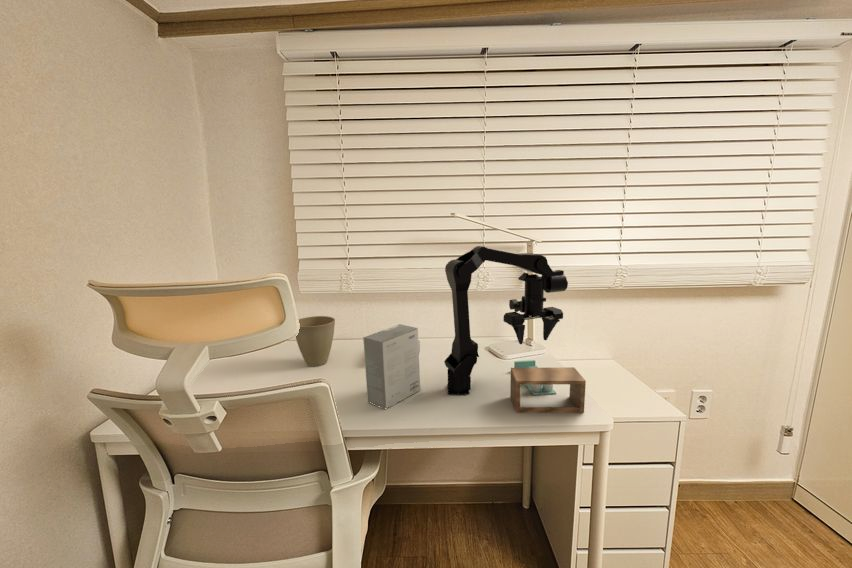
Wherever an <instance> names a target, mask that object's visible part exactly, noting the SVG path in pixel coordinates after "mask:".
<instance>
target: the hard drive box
mask: <svg viewBox="0 0 852 568" xmlns="http://www.w3.org/2000/svg"><path fill="white" fill-rule="evenodd" d="M418 330H419V328H417V327H415V326H410V325H406V324H397V325H393V326H390V327H388V328H386V329H383V330H380V331H377V332H374V333H372V334H369V335H366V336H363V337H362V339H363V354H364V355H363V356H364V367H365V369H364V370H365V381H366V382H365V383H366V396H367V397H366V398H367V403H368V402H371V403H373V404H375V405H377V406H380V407H382V408H384V409H383V410H386V409H385V408H387V409H389V408H390V406H391V407H393V406H395V405H396V404H398V403H399V401H400V402H401V401H403V400H405V399H407V398H409V397H410V396H412V394H413V395H415V394H416V393H417V392H419V391H421V378H420V377H421V375H420V373H421V371H420V353H419V348H418V341H419V331H418ZM397 402H398V403H397ZM373 404H372V405H373ZM394 404H395V405H394ZM375 405H374V406H375ZM392 405H393V406H392ZM377 406H376V407H377ZM380 407H379V408H380ZM388 407H389V408H388ZM382 408H381V409H382Z"/></svg>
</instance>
